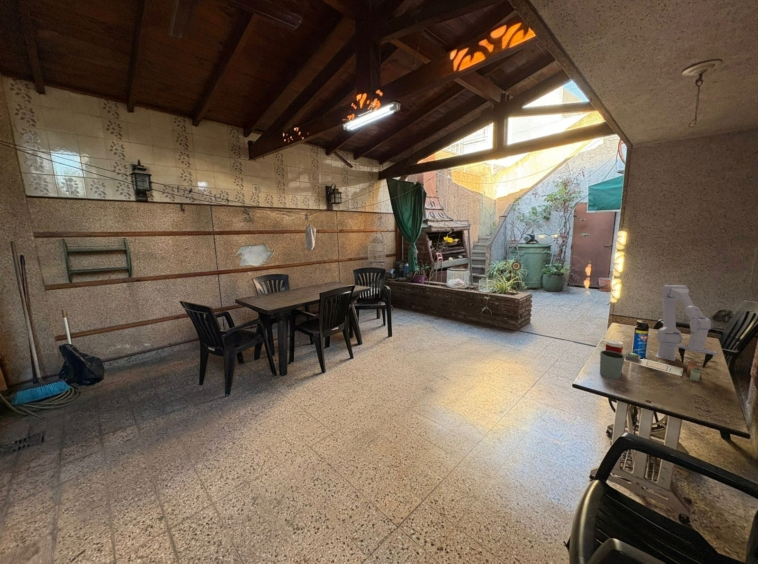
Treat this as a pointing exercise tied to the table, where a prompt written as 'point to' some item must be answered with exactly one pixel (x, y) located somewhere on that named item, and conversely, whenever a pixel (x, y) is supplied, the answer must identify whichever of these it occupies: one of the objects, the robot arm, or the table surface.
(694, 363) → the brown rounded cylinder
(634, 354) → the button
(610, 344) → the coffee cup
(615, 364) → the green round bin
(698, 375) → the sage marker
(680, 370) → the white flat panel
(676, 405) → the table surface
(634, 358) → the button housing
